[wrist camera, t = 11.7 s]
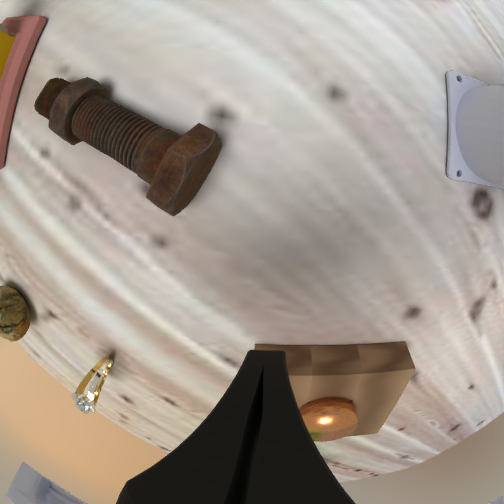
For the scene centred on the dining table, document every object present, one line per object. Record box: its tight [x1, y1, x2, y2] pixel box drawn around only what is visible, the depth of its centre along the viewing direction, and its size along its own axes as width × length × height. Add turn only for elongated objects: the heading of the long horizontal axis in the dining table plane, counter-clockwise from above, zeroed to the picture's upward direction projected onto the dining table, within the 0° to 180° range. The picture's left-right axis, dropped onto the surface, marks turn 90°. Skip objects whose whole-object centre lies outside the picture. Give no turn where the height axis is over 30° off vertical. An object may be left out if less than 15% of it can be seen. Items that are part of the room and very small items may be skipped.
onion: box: [0, 286, 30, 341], centre depth 24 cm, size 8×8×8 cm
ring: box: [72, 356, 113, 413], centre depth 25 cm, size 7×3×8 cm, turn 146°
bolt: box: [34, 77, 221, 216], centre depth 15 cm, size 6×5×15 cm
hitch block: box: [254, 342, 416, 437], centre depth 24 cm, size 14×12×4 cm
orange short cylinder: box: [299, 397, 358, 441], centre depth 22 cm, size 6×6×5 cm
